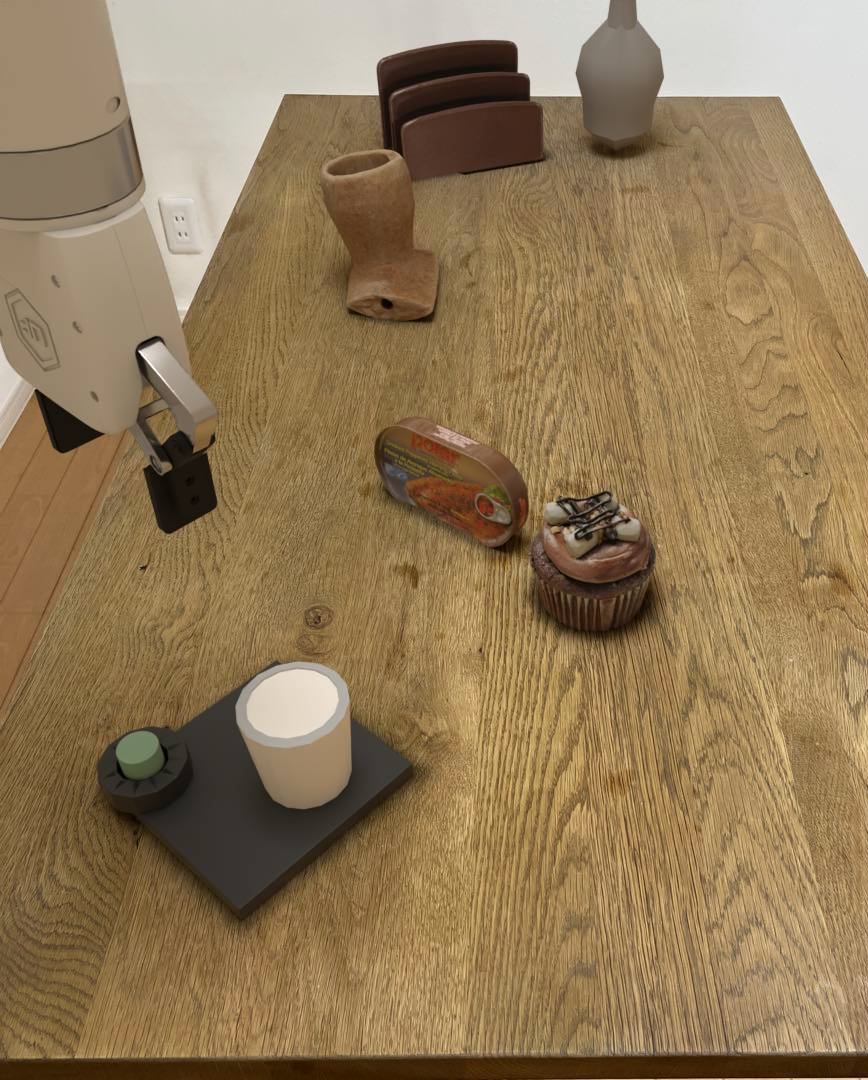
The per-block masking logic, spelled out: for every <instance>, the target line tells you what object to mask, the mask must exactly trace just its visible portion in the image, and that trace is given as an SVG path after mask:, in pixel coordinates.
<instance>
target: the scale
mask: <svg viewBox="0 0 868 1080" xmlns="http://www.w3.org/2000/svg"><path fill="white" fill-rule="evenodd" d="M282 664H283V663H281V662H280V661H279V660H274V661H273V662H272V663H270V664H269V665H268V666H266V667H265V668H263V669H262V670H260V671H259V672H257V673H256V674H255V675H253V676H252V677H251V678H249V679H247V680H246V681H245V682H243V683H242V684H240V685H238V687H236V688H235V689H233V690H232V691H230V692H229V693H228V694H226V695H225V696H223V697H222V698H220V699H219V700H218V701H216V702H215V703H214V704H211V706H209V707H207V708H206V709H205V710H203V711H202V712H201V713H199V714H197V716H195V717H194V718H192V719H191V720H189V721H187V722H186V723H184V725H182V726H180V727H179V728H178V729H176V730H174V729H171V728H166V727H160V726H153V725H149V726H146V727H145V726H144V727H141V728H137V729H133V730H128V731H126V732H125V733H123V734H122V735H120V736H119V737H118V738H116V739H115V740H114V741H112V742H110V743H109V744H108V745H107V746H106V748H105V749H104V751H103V753H102V754H101V756H100V757H99V759H98V761H97V763H96V771H97V783H98V785H99V787H100V789H101V792H102V795H103V796H104V799H105V800H106V801H107V802H108V803H109V804H110V805H112V807H113V808H115V809H116V811H118V812H121V813H127V814H132V816H134V818H136V820H138V821H139V822H140V823H141V824H142V825H143V826H144V827H145V828H146V829H147V830H148V831H149V832H150V833H151V834H152V835H153V836H154V837H155V838H156V839H157V840H158V841H159V842H160V843H161V844H162V845H163V846H164V847H166V848H167V849H168V851H170V852H171V853H172V855H174V857H175V858H177V859H178V860H179V861H180V862H181V863H182V864H183V865H184V866H185V867H186V868H187V869H188V870H189V871H190V872H191V873H192V874H193V875H194V876H195V877H196V878H197V879H198V880H199V881H201V883H203V885H205V887H207V888H208V889H209V891H211V892H212V893H213V894H214V895H215V896H216V897H217V898H218V899H219V900H220V901H221V902H222V903H223V904H224V906H226V907H227V908H228V909H229V910H230V911H231V912H232V913H233V914H234V915H236V917H238V918H239V919H240V921H245V919H247V918H248V917H249V916H250V915H251V914H252V913H254V912H255V911H256V910H257V909H258V908H259V907H261V906H262V905H263V904H264V903H265V902H266V901H268V900H269V899H270V898H271V897H272V896H273V895H275V894H276V893H277V892H278V891H280V889H282V888H283V887H284V886H286V884H288V883H289V882H290V881H291V880H292V879H293V878H295V877H296V876H297V875H298V874H300V873H301V872H302V871H303V870H304V869H305V868H306V867H307V866H309V865H310V864H311V863H313V861H315V860H316V859H317V858H318V857H320V856H321V855H322V854H323V853H324V852H325V851H326V850H328V849H329V848H331V846H332V845H334V844H335V843H336V842H337V841H338V840H340V839H341V838H342V837H343V836H344V835H346V833H348V832H349V831H350V830H351V829H352V828H354V827H355V826H356V825H357V824H358V823H359V822H360V821H361V820H363V819H364V818H365V817H367V816H368V815H369V814H370V813H371V812H372V811H374V810H375V809H376V808H377V807H379V805H381V804H382V803H383V802H384V801H385V800H387V799H388V798H389V797H390V796H391V795H392V794H393V793H395V792H396V791H397V790H398V789H399V788H400V787H402V786H403V785H404V784H405V783H406V782H407V781H409V780H410V779H411V778H413V776H414V766H413V763H412V762H411V761H409V760H408V759H407V758H405V757H404V756H403V755H401V754H400V753H399V752H398V751H396V750H395V749H394V748H392V747H391V746H390V745H388V744H387V743H386V742H385V741H384V740H382V739H380V738H379V737H378V736H377V735H375V734H374V733H372V731H370V730H368V728H366V727H365V726H364V725H362V724H361V723H360V722H359V721H357V720H356V719H354V718H353V717H352V716H350V729H351V763H352V771H351V775H350V778H349V781H348V784H347V785H346V787H345V788H344V789H343V790H342V791H341V792H340V794H339V795H338V796H337V797H335V798H334V799H332V800H330V801H329V802H327V803H325V804H323V805H322V806H317V807H312V808H308V809H296V808H288V807H285V806H283V805H282V804H280V803H278V802H276V801H274V800H273V799H272V797H271V796H270V795H269V793H268V792H267V790H266V789H265V787H264V784H263V782H262V780H261V777H260V775H259V773H258V770H257V768H256V766H255V764H254V761H253V759H252V757H251V754H250V752H249V750H248V747H247V745H246V743H245V740H244V738H243V736H242V734H241V731H240V729H239V727H238V724H237V719H236V704H237V701H238V699H239V697H240V695H241V692H242V690H243V689H244V688H245V687H246V686H247V685H248V684H249V683H250V682H251V681H252V680H253V679H254V678H255V677H256V676H257V675H259V674H261V673H263V672H265V671H267V670H269V669H271V668H273V667H275V666H277V665H282ZM138 731H147V732H151V733H153V734H154V735H155V736H156V737H157V738H158V740H159V743H160V746H161V749H162V752H163V755H164V758H165V761H164V765H163V767H162V769H161V770H160V771H159V772H158V773H157V774H156V775H155V776H153V777H151V778H149V779H146V780H141V781H136V780H131V779H129V778H127V777H126V776H125V775H124V773H123V771H122V768H121V766H120V763H119V761H118V758H117V756H116V748H117V746H118V744H119V742H120V741H121V740H122V739H123V738H124V737H126V736H127V735H129V734H131V733H134V732H138Z"/></svg>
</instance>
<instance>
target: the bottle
mask: <svg viewBox="0 0 868 1080" xmlns="http://www.w3.org/2000/svg"><path fill="white" fill-rule="evenodd" d="M662 59H663V58H662V52H661V48H660V47H659V46H658V45H657V43H656V42H655V41H654V39H653V38H652V36H651V35H650V34H649V33H648V31H647V30H646V29H645V28H644V25H642V24H641V22H640V20H638V8H637V0H609V6H608V12H607V18H606V19H605V20H604V22H602V23H601V24H600V25H599V26H598V28H597V29H595V31H594V32H593V33H592V34H591V35H590V36H589V38H588V39H587V40H586V41H585V42H584V43H583V44H582V45H581V48H580V52H579V57H578V61H577V65H576V69H575V77H576V81H577V84H578V89H579V92H580V96H581V100H582V127H583V128H584V129H585V130H586V131H588V132H589V133H590V134H591V135H592V136H593V137H594V138H595V139H597V141H599V143H601V144H602V145H604V146H606V147H608V148H610V149H611V150H614V151H616V152H617V151H619V150H622V149H625V148H626V147H629V146H631V145H632V144H635V142H637V141H638V140H639V139H641V138H642V137H644V136H645V135H646V134H647V133H649V132H650V131H651V130H652V124H653V117H654V110H655V104H656V100H657V97H658V95H659V93H660V90H661V87H662V86H663V85H662V84H663V82H664V79H665V75H664V72H665V71H664V65H663V60H662Z"/></svg>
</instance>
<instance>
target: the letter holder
mask: <svg viewBox="0 0 868 1080" xmlns="http://www.w3.org/2000/svg"><path fill="white" fill-rule="evenodd" d="M518 50H519V49H518V46H517V44H516V43H515V42H513V41H511V40H507V39H506V40H503V39H472V40H470V39H469V40H460V41H452V42H444V43H438V44H433V45H428V46H423V47H417V48H412V49H407V50H404V51H400V52H397V53H394V54H391V55H387V56H384V57H382V58H381V59H380V60H378V62H377V65H376V81H377V92H378V99H379V108H380V109H379V110H380V125H381V134H382V145H383V147H382V148H383V149H385V150H392V151H395V152H397V153H398V154H400V155H401V157H402V158H403V159H404V161H405V163H406V165H407V167H408V170H409V174H410V178H411V181H412V180H413V181H414V180H419V179H424V178H431V177H436V176H437V177H438V176H444V175H449V174H455V173H458V174H460V175H465V174H469V173H474V172H480V171H486V170H492V169H498V168H504V167H510V166H516V165H522V164H528V163H534V162H542V161H544V158H545V151H544V108H543V106H542V104H541V103H539V102H536V101H534V100H533V101H532V100H531V79H530V77H529V75H528V74H527V73H524V72H519V51H518Z"/></svg>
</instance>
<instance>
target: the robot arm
mask: <svg viewBox="0 0 868 1080" xmlns="http://www.w3.org/2000/svg"><path fill="white" fill-rule="evenodd" d="M135 133H136V132H135V129H134V125H133V119H132V115H131V110H130V107H129V101H128V97H127V92H126V88H125V83H124V79H123V73H122V69H121V65H120V59H119V55H118V50H117V46H116V41H115V37H114V32H113V26H112V23H111V18H110V13H109V9H108V5H107V0H0V345H1V348H2V352H3V354H4V357H5V360H6V361H7V363H8V364H9V366H10V367H11V368H12V370H13V371H14V372H15V373H16V374H17V375H18V376H20V377H21V379H23V380H24V381H26V382H27V383H28V384H30V385H31V386H32V387H34V390H33V391H34V395H35V397H36V400H37V403H38V406H39V409H40V412H41V413H40V414H41V416H42V419H43V422H44V425H45V429H46V431H47V435H48V437H49V440H50V444H51V446H52V448H53V449H54V451H55V450H56V452H58V453H59V454H67V453H70V452H71V451H73V450H75V449H78V448H80V447H81V446H84V445H86V444H88V443H90V442H92V441H95V440H96V439H98V438H100V437H102V436H103V437H104V435H110V436H117V435H120V434H122V433H123V431H125V430H127V429H128V430H129V432H130V434H131V435H132V437H133V438H134V440H135V442H136V443H137V445H138V447H139V448H140V450H141V451H142V454H143V455H144V456H145V458H146V460H147V461H148V465H146V466H145V467H144V468H142V471H143V476H144V479H145V483H146V487H147V491H148V495H149V498H150V501H151V506H152V509H153V512H154V513H153V514H154V516H155V517H154V518H155V521H156V525H157V528H158V529H159V530H160V531H162V532H163V533H165V534H166V535H171V534H173V533H176V532H177V531H178V530H180V529H183V528H185V527H186V526H188V525H190V524H191V523H193V522H195V521H197V520H198V519H200V518H202V517H204V516H206V515H207V514H209V513H211V512H213V511H214V510H215V509H216V508H217V506H218V497H217V493H216V492H217V491H216V489H215V482H214V479H213V474H212V468H211V465H210V460H209V456H208V453H209V452H210V451H211V450H212V446H213V445H214V444H215V443H216V441H217V439H216V432H215V431H216V427H217V424H218V423H217V422H218V419H219V412H218V408H217V407H216V405H215V403H214V402H213V401H212V400H211V398H209V396H208V394H206V392H205V391H204V390H203V389H202V388H201V387H200V385H199V384H198V383H197V381H195V379H194V378H193V374H192V368H191V367H192V366H191V362H190V361H191V360H190V355H189V350H188V346H187V341H186V337H185V333H184V329H183V325H182V321H181V317H180V313H179V310H178V306H177V303H176V299H175V295H174V292H173V289H172V285H171V281H170V278H169V275H168V271H167V268H166V265H165V262H164V259H163V254H162V252H161V249H160V247H159V243H158V241H157V238H156V234H155V232H154V229H153V227H152V226H153V225H152V224H151V221H150V217H149V216H148V215H149V214H148V213H147V209H146V207H145V204H144V203H143V202H142V201H141V199H142V198H143V196H144V194H145V192H146V189H147V188H146V187H147V184H146V178H145V175H144V171H143V166H142V161H141V156H140V151H139V147H138V142H137V138H136V134H135ZM152 388H153V389H154V390H155V391H156V393H157V394H158V395H159V398H157V399H155V400H153V401H151V402H149V403H147V404H145V405H142V406H141V399H142V394H143V393H144V392H146V391H148V390H150V389H152ZM166 412H169V413H170V414H171V416H172V418H173V419H174V421H175V423H176V424H175V427H176V428H177V430H176V432H174V433H172V434H170V435H169V436H168V438H167V439H166V440H165V441H164V442H163V443H161V442H160V440H159V438H158V437H157V435H156V433H155V431H154V430H153V428H152V426H151V425H150V423H149V421H150V420H152V419H154V418H156V417H157V416H160V415H162V414H164V413H166Z"/></svg>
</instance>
